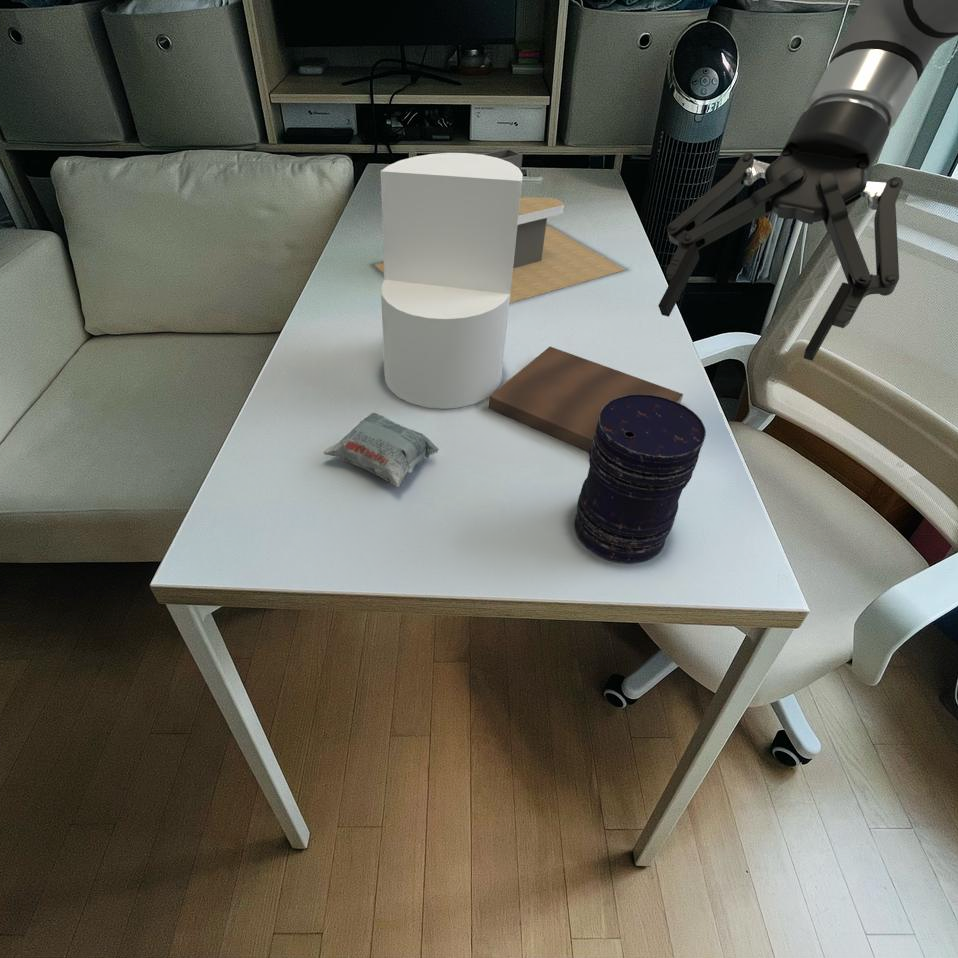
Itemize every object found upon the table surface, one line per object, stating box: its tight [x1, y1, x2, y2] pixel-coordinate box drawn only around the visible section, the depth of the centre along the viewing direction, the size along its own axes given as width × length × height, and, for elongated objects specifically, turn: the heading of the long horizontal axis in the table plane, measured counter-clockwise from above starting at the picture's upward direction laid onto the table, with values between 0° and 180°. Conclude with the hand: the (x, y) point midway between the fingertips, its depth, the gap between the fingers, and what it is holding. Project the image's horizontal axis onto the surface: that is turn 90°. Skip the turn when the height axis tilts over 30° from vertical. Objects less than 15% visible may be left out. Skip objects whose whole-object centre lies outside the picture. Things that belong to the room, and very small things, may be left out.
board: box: [487, 346, 684, 453], centre depth 89 cm, size 20×16×2 cm
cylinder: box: [380, 152, 524, 410], centre depth 88 cm, size 17×17×28 cm
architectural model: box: [374, 148, 626, 304], centre depth 115 cm, size 38×25×20 cm, turn 115°
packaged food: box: [323, 412, 440, 488], centre depth 82 cm, size 9×12×5 cm
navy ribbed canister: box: [573, 395, 707, 564], centre depth 68 cm, size 10×10×15 cm
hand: (732, 332), depth 64 cm, fingers open, 13 cm apart
